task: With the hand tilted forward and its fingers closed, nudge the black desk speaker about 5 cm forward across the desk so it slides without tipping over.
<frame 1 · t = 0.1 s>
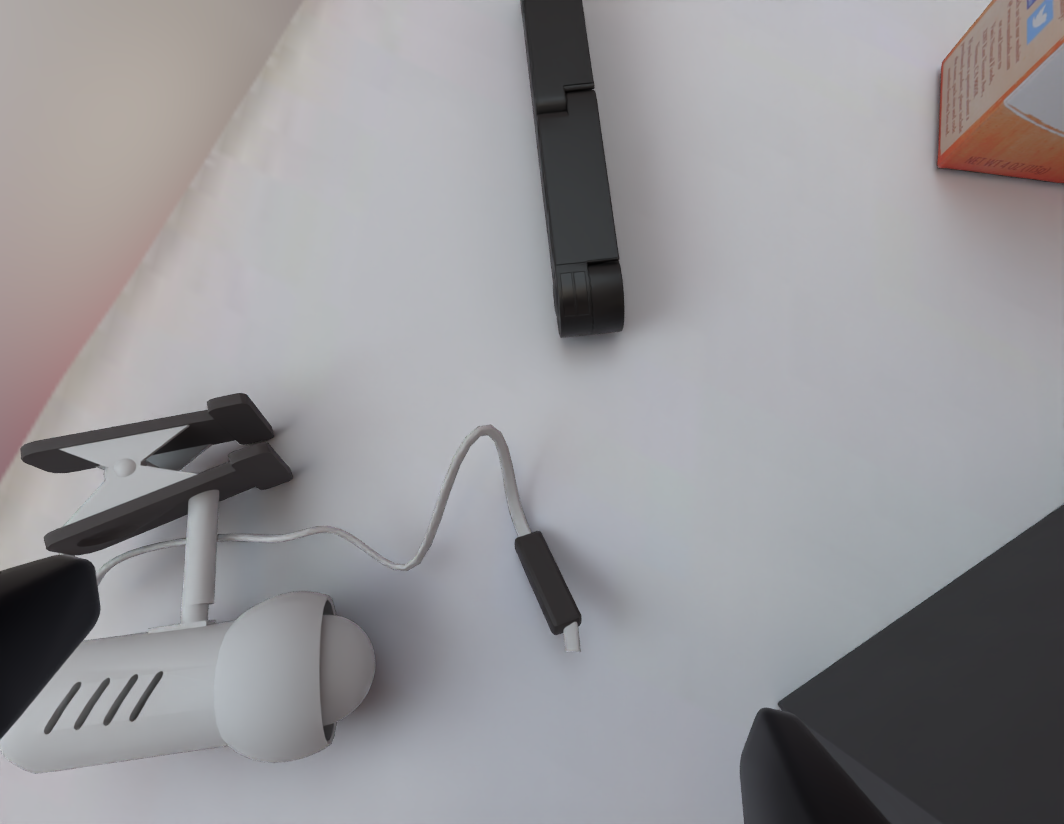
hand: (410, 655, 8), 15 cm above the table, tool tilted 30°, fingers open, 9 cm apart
tablet stand: (565, 157, 26), on the table
speaker: (1048, 705, 21), on the table
clip-on lamp: (338, 562, 23), on the table
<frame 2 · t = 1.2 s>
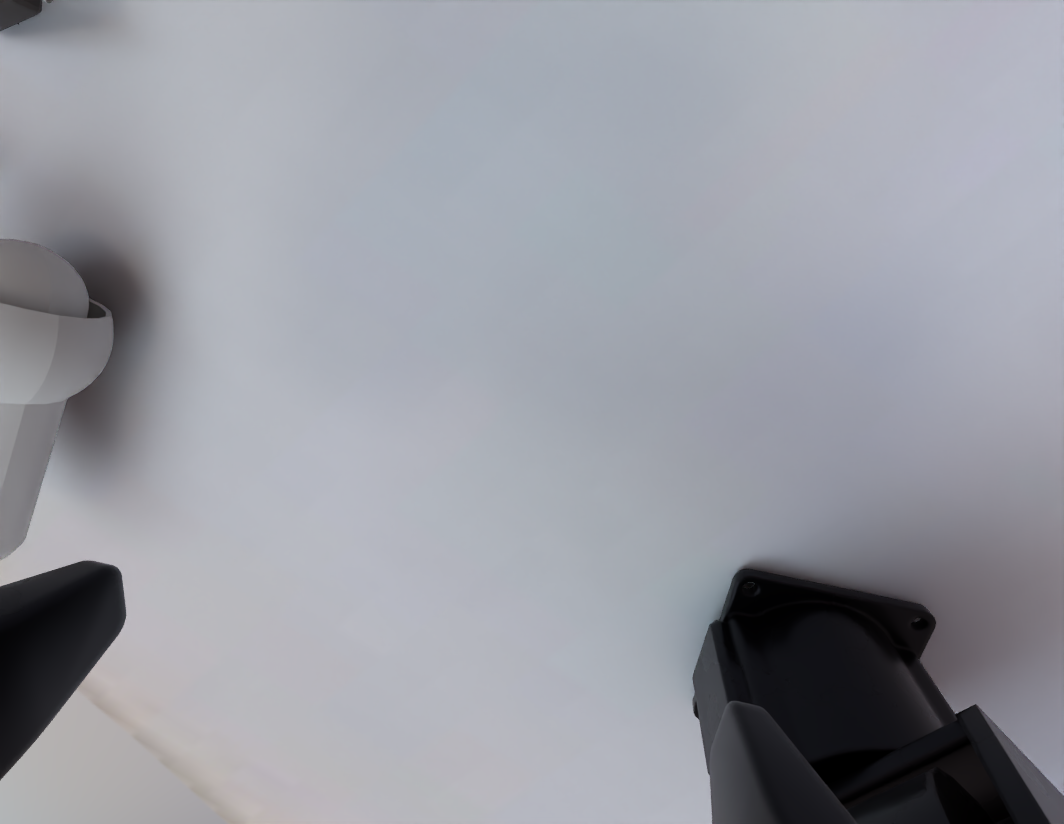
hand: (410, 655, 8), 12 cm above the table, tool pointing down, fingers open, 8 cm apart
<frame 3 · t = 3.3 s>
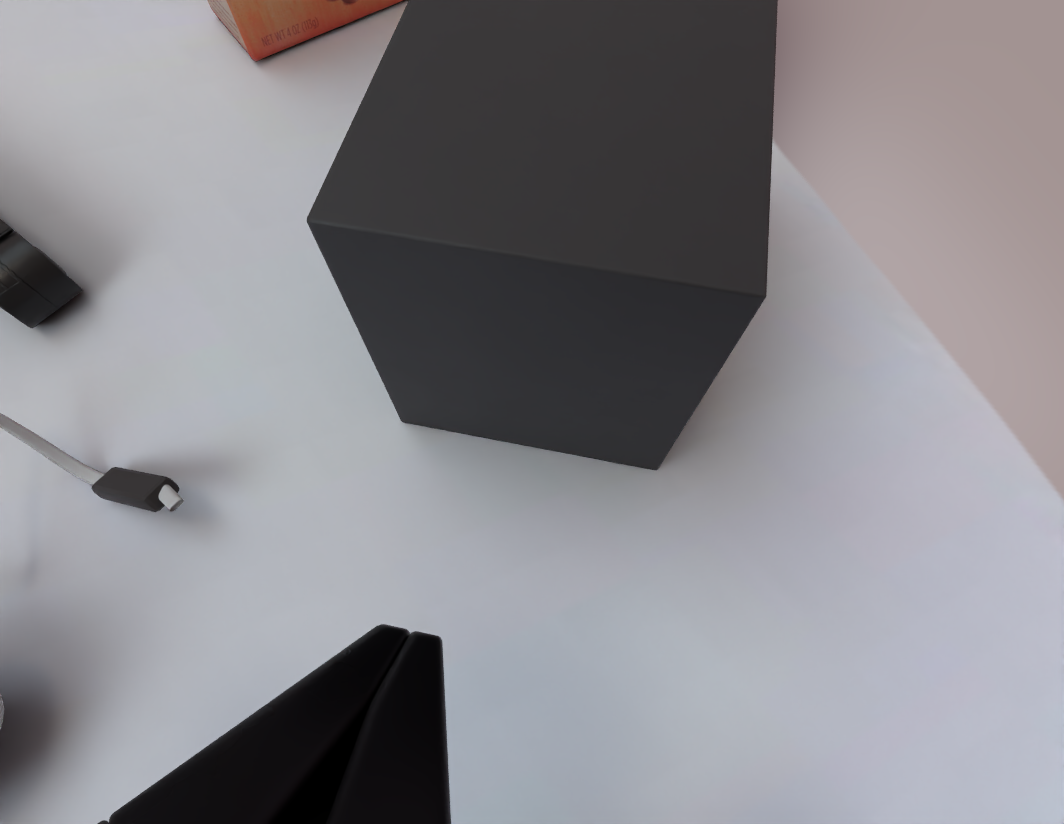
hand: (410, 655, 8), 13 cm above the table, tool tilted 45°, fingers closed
speaker: (563, 279, 26), on the table
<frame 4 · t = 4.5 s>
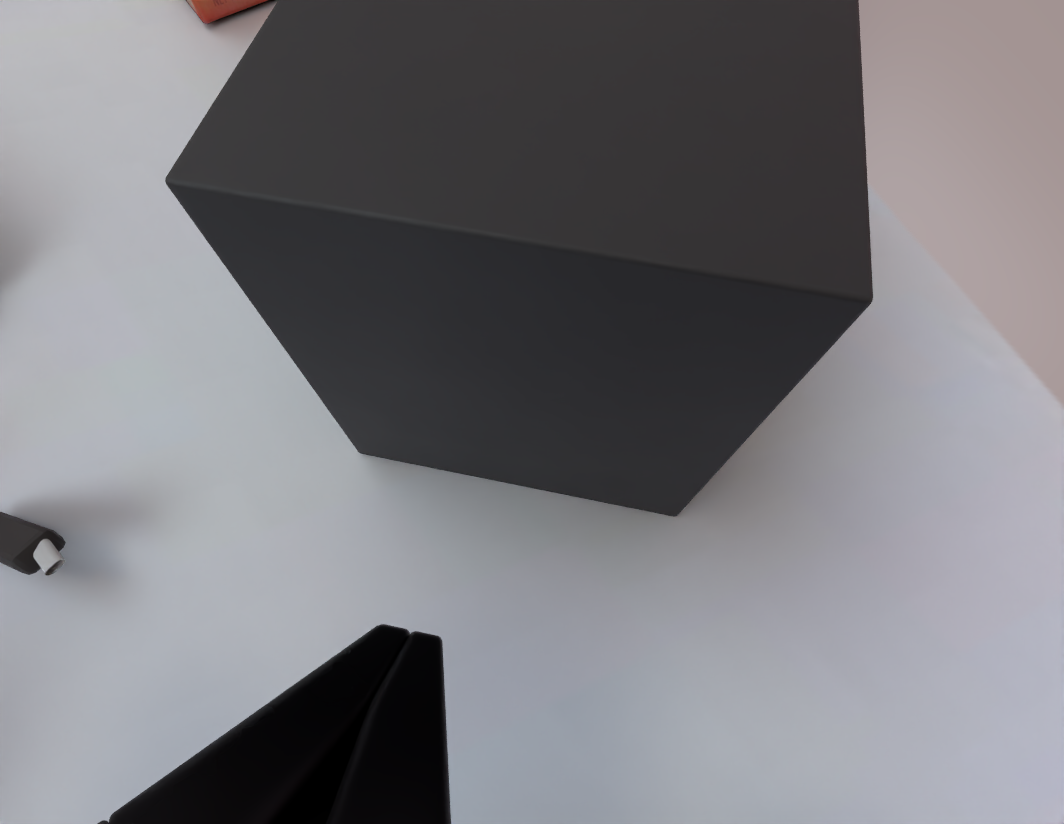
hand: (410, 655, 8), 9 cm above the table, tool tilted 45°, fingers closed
speaker: (561, 278, 21), on the table
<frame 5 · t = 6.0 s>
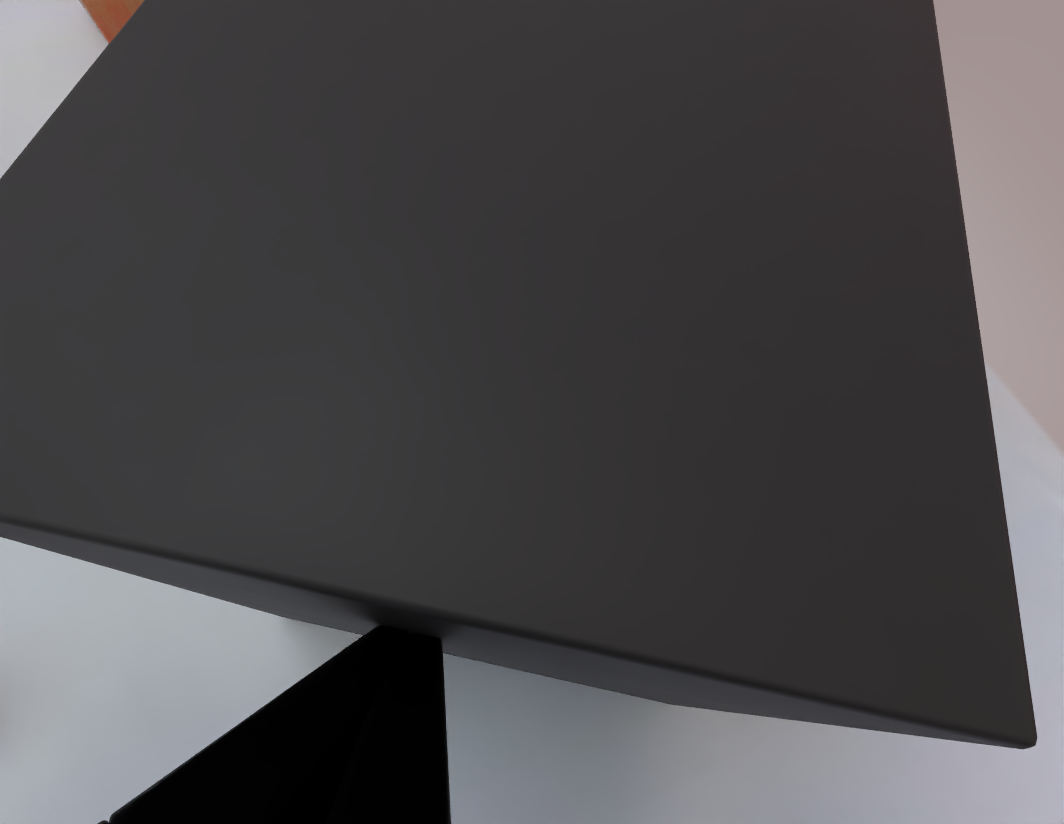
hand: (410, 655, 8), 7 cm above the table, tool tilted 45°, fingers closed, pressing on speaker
speaker: (535, 377, 18), on the table, touching gripper
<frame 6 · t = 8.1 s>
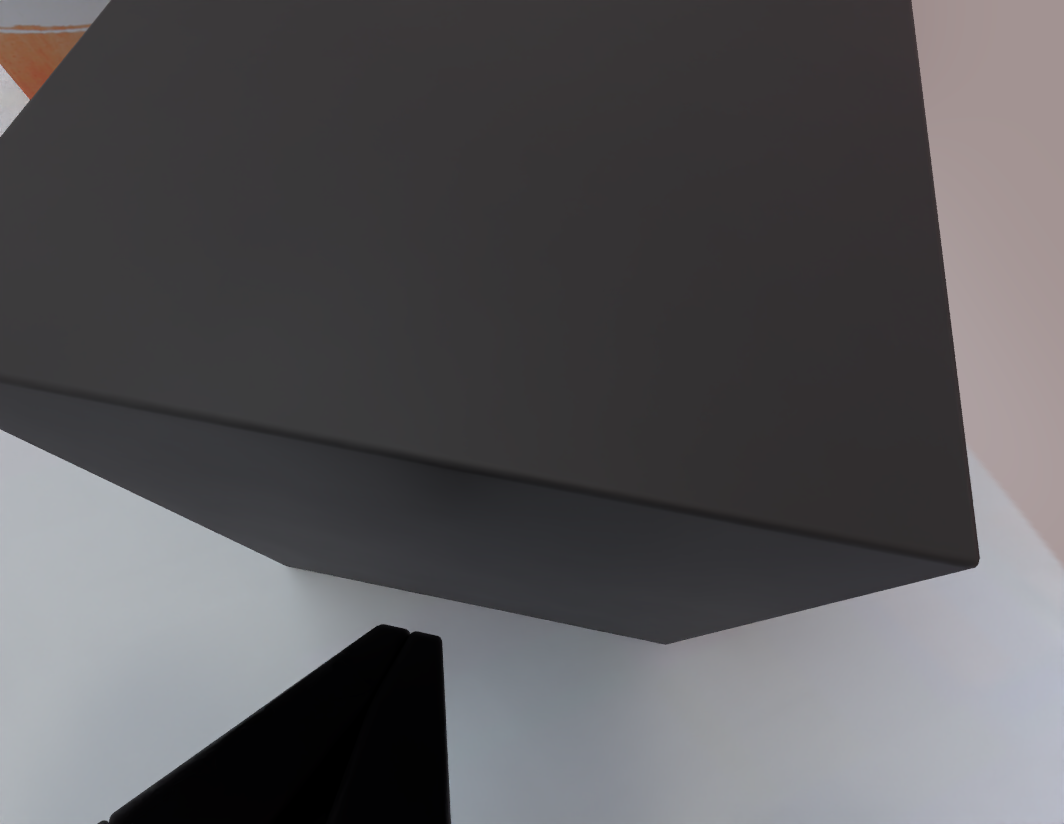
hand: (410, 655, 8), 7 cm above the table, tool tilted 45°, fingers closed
speaker: (532, 339, 18), on the table
cracker box: (215, 37, 24), on the table
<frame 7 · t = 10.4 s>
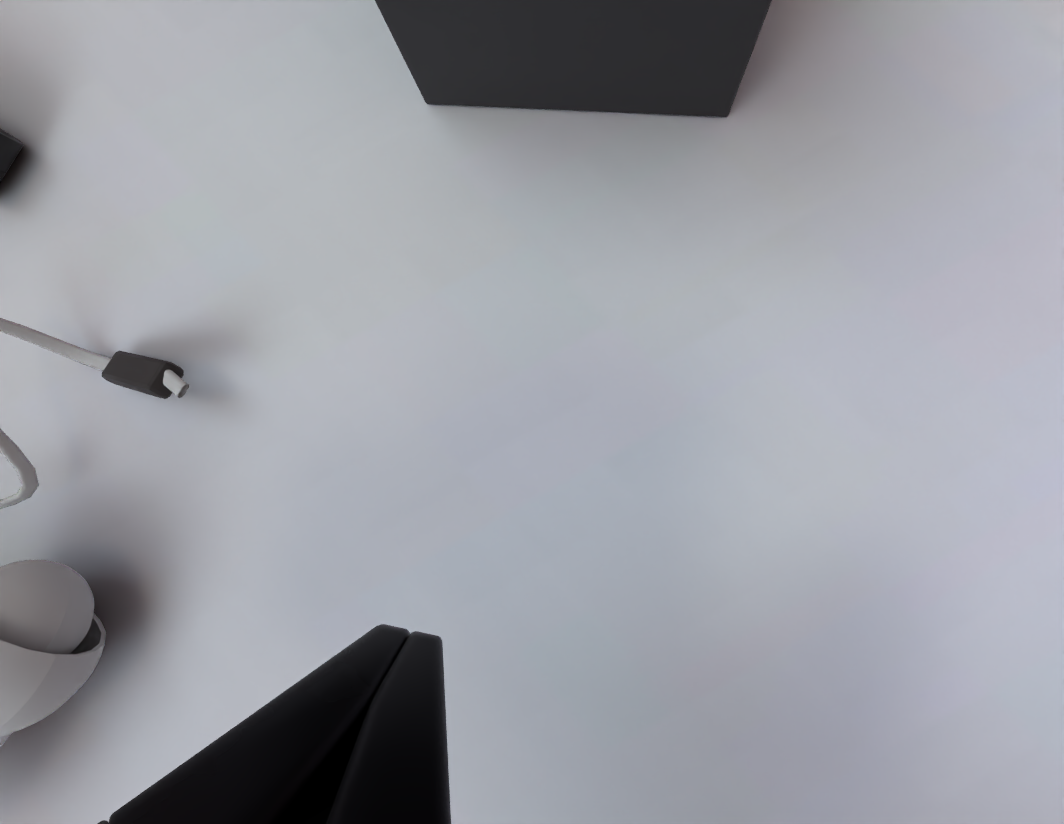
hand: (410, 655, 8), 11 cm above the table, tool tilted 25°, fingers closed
clip-on lamp: (21, 548, 21), on the table
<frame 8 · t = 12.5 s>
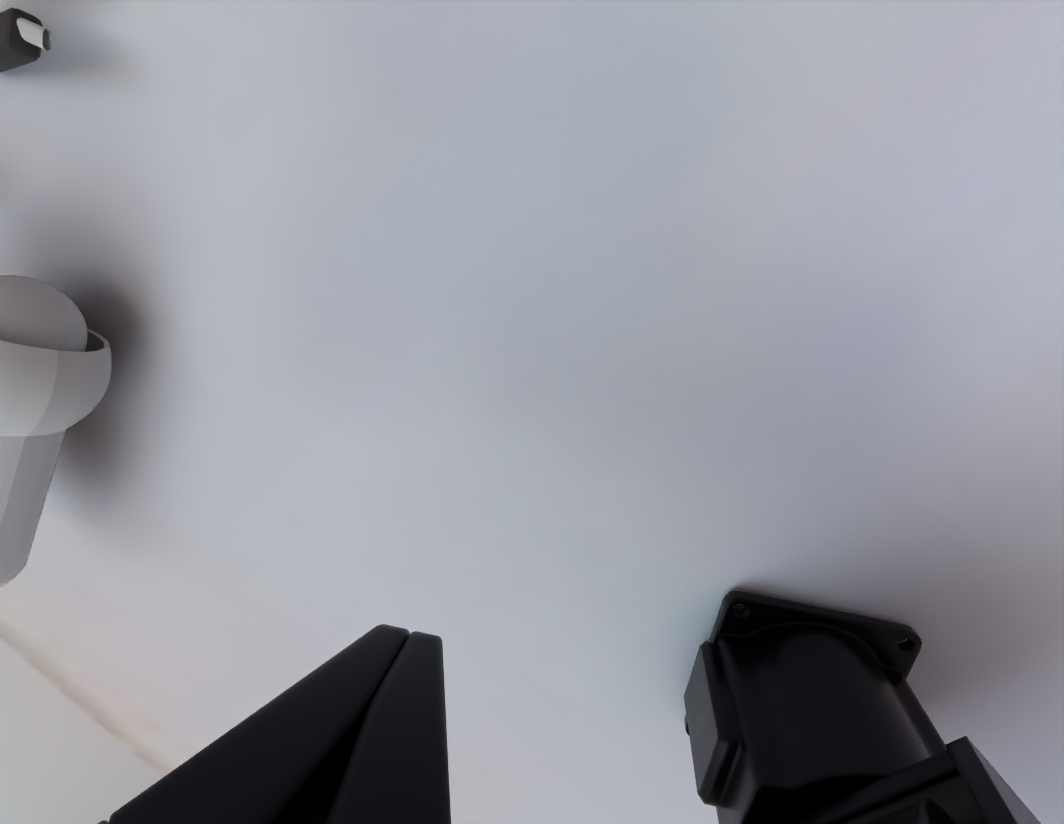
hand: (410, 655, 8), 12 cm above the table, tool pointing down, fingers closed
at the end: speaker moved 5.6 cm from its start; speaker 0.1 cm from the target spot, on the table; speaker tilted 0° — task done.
